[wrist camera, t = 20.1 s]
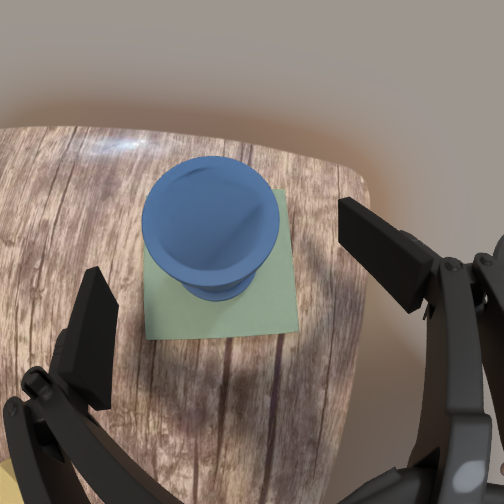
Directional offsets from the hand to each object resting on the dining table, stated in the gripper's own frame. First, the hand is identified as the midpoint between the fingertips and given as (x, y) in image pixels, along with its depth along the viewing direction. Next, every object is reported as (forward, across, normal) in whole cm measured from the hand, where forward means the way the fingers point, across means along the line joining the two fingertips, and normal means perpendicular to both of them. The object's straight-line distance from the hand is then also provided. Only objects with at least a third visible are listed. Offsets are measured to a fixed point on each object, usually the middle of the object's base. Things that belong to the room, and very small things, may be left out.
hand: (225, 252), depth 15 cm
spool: (+7, 0, -5) cm, 8 cm away
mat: (+7, 0, -5) cm, 9 cm away
